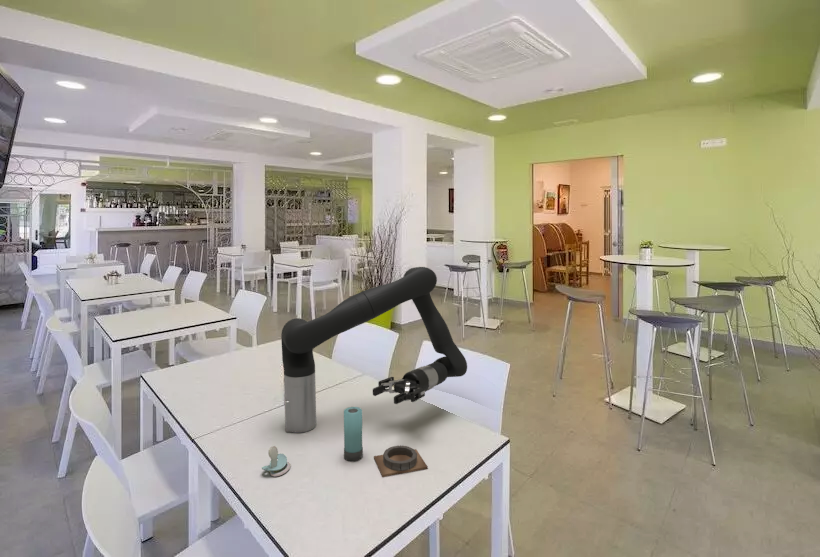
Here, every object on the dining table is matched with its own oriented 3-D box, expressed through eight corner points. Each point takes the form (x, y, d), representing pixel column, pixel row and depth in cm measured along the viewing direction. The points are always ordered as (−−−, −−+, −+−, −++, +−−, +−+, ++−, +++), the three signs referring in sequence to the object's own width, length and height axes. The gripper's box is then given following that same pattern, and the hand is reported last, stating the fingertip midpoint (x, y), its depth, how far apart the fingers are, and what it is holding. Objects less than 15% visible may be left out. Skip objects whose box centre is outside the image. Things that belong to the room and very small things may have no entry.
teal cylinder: (345, 463, 114) (345, 415, 112) (342, 453, 119) (342, 408, 117) (364, 459, 115) (364, 413, 114) (360, 450, 120) (360, 405, 118)
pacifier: (295, 465, 113) (275, 460, 115) (295, 442, 112) (275, 438, 114) (279, 481, 106) (258, 476, 108) (279, 457, 105) (258, 452, 107)
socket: (382, 477, 108) (382, 467, 107) (373, 458, 116) (373, 449, 116) (427, 468, 112) (427, 459, 111) (416, 451, 120) (416, 442, 120)
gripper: (403, 363, 140) (366, 377, 128) (438, 374, 130) (402, 390, 118) (403, 385, 141) (367, 402, 129) (438, 397, 131) (402, 416, 119)
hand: (383, 396), depth 124 cm, fingers open, 8 cm apart
